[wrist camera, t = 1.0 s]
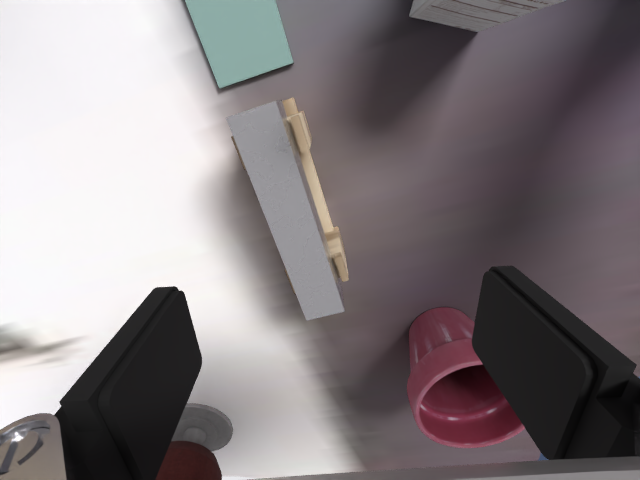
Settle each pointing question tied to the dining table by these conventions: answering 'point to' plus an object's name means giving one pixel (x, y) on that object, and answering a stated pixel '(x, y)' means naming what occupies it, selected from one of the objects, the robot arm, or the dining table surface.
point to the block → (288, 206)
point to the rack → (313, 186)
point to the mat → (240, 37)
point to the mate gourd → (196, 445)
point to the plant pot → (454, 384)
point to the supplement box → (475, 11)
